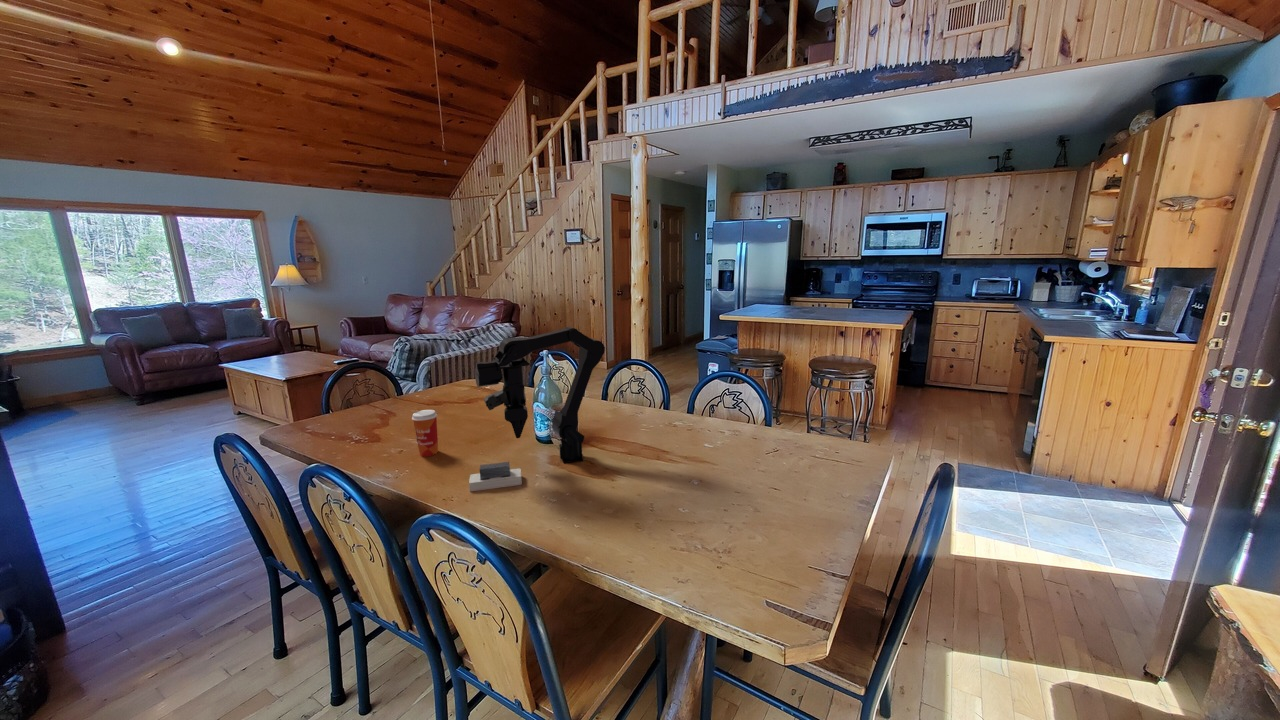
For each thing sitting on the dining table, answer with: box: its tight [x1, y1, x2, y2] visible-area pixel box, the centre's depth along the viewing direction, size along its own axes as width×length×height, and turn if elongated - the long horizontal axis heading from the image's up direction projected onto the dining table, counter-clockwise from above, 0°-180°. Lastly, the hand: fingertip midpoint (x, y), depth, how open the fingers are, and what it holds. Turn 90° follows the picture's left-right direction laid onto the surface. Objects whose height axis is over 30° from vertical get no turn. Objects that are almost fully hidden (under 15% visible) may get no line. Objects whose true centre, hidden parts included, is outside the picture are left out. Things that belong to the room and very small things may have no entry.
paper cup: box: [411, 409, 439, 457], centre depth 160 cm, size 8×8×14 cm
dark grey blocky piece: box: [479, 461, 511, 480], centre depth 138 cm, size 8×3×5 cm, turn 105°
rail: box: [468, 468, 523, 492], centre depth 138 cm, size 14×6×2 cm, turn 105°
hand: (517, 432), depth 145 cm, fingers open, 9 cm apart
